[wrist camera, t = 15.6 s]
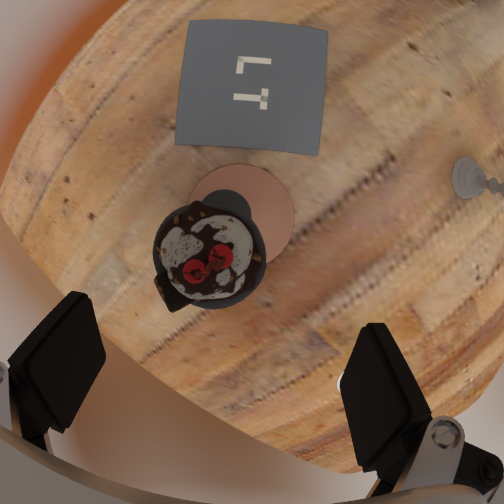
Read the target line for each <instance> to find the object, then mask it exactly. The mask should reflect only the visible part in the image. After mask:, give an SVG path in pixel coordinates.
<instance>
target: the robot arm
mask: <svg viewBox="0 0 504 504" xmlns="http://www.w3.org/2000/svg"><path fill="white" fill-rule="evenodd" d="M473 1H477V2H480V1H483V0H473ZM105 360H106V353H105V350H104V347H103V344H102V340H101V336H100V333H99V329H98V325H97V321H96V317H95V313H94V309H93V305H92V301H91V299H90V298H88V295H87V294H85V293H81V292H76V291H71V292H70V293H69V294H68V295H67V296H66V297H65V298H64V299H63V300H62V301H61V302H60V303H59V304H58V305H57V306H56V307H55V308H54V309H53V310H52V311H51V312H50V313H49V314H48V315H47V316H46V318H44V319H43V320H42V321H41V322H40V324H39V325H38V326H37V327H36V328H35V329H34V330H33V331H32V332H31V333H30V335H29V336H28V337H27V338H26V339H25V340H24V341H23V342H22V344H21V345H20V346H19V347H18V348H17V349H16V351H15V352H14V353H13V354H12V355H11V357H10V358H9V359H8V363H9V364H10V367H9V369H7V367H6V365H5V364H4V363H2V362H0V504H208V503H201V502H195V501H189V500H183V499H178V498H173V497H168V496H164V495H160V494H155V493H151V492H148V491H144V490H140V489H137V488H133V487H130V486H127V485H124V484H121V483H117V482H115V481H112V480H109V479H106V478H103V477H101V476H98V475H96V474H93V473H91V472H88V471H86V470H83V469H81V468H78V467H76V466H74V465H72V464H70V463H68V462H65V461H64V460H62V459H59V458H58V457H56V456H54V454H53V450H52V447H51V444H50V439H49V435H48V429H49V427H51V428H52V429H54V430H55V431H58V432H60V433H62V434H63V433H64V431H65V429H66V428H69V427H70V425H71V424H72V422H73V419H74V418H75V416H76V414H77V412H78V410H79V408H80V406H81V404H82V402H83V400H84V399H85V397H86V395H87V393H88V391H89V389H90V387H91V386H92V384H93V382H94V380H95V379H96V377H97V375H98V373H99V372H100V370H101V368H102V366H103V365H104V363H105ZM340 392H341V396H342V400H343V404H344V408H345V412H346V416H347V420H348V424H349V429H350V433H351V437H352V442H353V446H354V450H355V455H356V460H357V463H358V465H359V466H362V468H363V472H364V473H365V472H371V471H377V475H378V479H377V480H376V482H375V484H374V486H373V487H372V488H371V490H370V492H369V493H368V495H367V496H366V498H365V499H360V500H355V501H348V502H341V503H333V504H504V475H503V474H504V468H503V464H502V462H501V460H500V459H499V458H498V457H497V456H496V455H494V454H491V453H489V452H487V451H485V450H482V449H480V448H478V447H476V446H474V445H471V444H469V443H467V442H465V440H464V439H465V434H464V430H463V428H462V426H461V425H460V424H459V422H457V420H455V419H453V418H451V417H448V416H438V417H436V418H434V419H433V418H432V416H431V410H430V408H429V406H428V404H427V402H426V400H425V398H424V396H423V394H422V392H421V390H420V388H419V386H418V384H417V382H416V380H415V378H414V376H413V374H412V372H411V370H410V368H409V366H408V364H407V362H406V360H405V359H404V357H403V355H402V353H401V351H400V349H399V347H398V346H397V344H396V342H395V340H394V338H393V337H392V335H391V333H390V331H389V330H388V328H387V326H386V325H385V323H368V324H367V325H366V327H362V328H361V330H360V333H359V336H358V338H357V341H356V344H355V346H354V349H353V351H352V354H351V356H350V359H349V361H348V363H347V366H346V368H345V370H344V373H343V375H342V377H341V380H340Z"/></svg>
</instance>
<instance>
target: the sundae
mask: <svg viewBox="0 0 504 504" xmlns="http://www.w3.org/2000/svg"><path fill="white" fill-rule="evenodd" d="M153 260H154V265H155V268H156V272H157V274H158V275H157V276H156V277H155V279H154V282H155V285H156V287H157V289H158V291H159V293H160V295H161V297H162V299H163V300H164V302H165V303H166V306H167V308H168V310H169V311H170V312H172V313H174V312H176V311H178V310H180V309H181V308H183V307H185V306H187V305H189V304H192V305H195V306H198V307H201V308H204V309H221V308H226V307H229V306H232V305H234V304H236V303H238V302H240V301H242V300H243V299H245V298H246V297H247V296H248V295H250V294H251V293H252V292H253V291H254V290H255V289H256V287H257V286H258V285H259V284H260V282H261V280H262V278H263V276H264V272H265V269H266V248H265V244H264V241H263V238H262V235H261V233H260V231H259V229H258V227H257V225H256V224H255V223H254V222H253V220H252V214H251V208H250V206H249V204H248V202H247V201H246V199H245V198H244V197H243V196H241V195H240V194H239V193H237V192H235V191H232V190H228V189H222V190H216V191H214V192H211V193H210V194H208V195H207V196H206V197H205V198H204V199H203V200H202V202H201V201H197V200H196V201H193V202H192V203H191V204H189V205H186V206H184V207H181V208H179V209H177V210H175V211H173V212H172V213H171V214H170V215H169V216H168V217H166V219H165V220H164V221H163V223H162V224H161V226H160V228H159V229H158V231H157V234H156V237H155V241H154V247H153Z"/></svg>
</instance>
